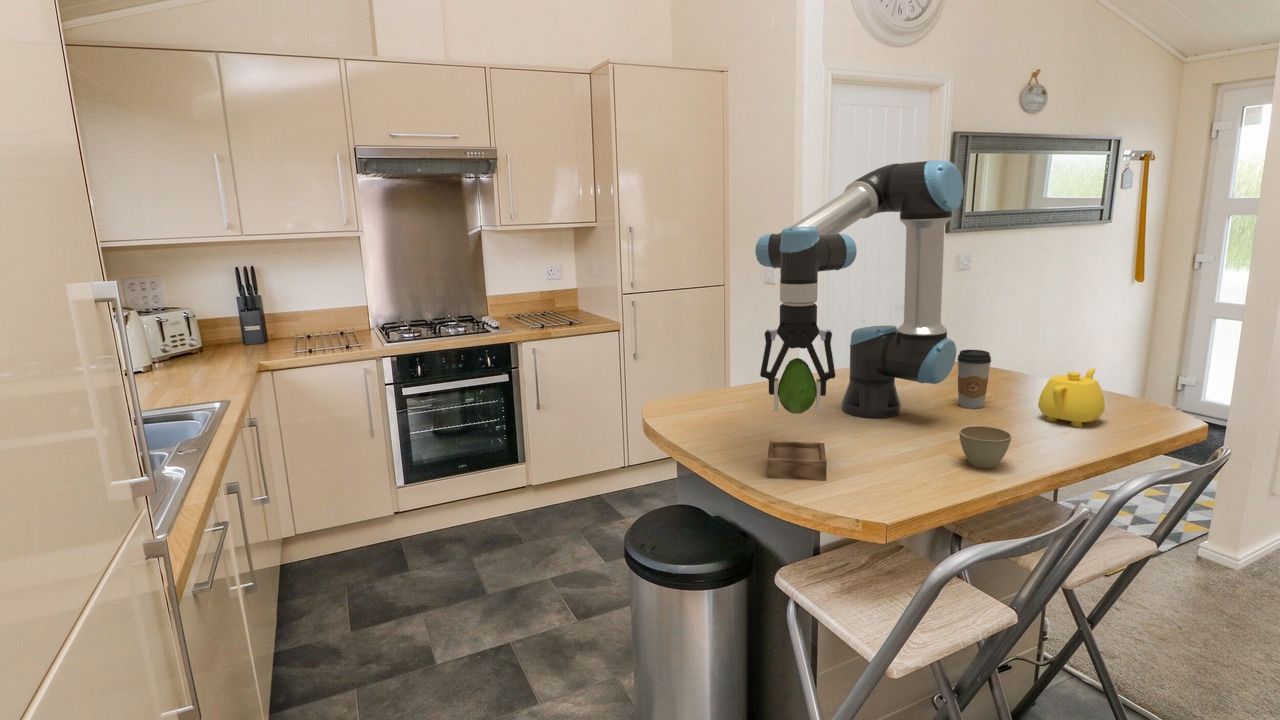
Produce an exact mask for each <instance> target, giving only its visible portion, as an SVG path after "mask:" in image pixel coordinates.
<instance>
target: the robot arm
mask: <svg viewBox="0 0 1280 720" xmlns="http://www.w3.org/2000/svg"><path fill="white" fill-rule="evenodd" d="M962 177H963V176H962V174H961V172H960V170H959V169H958V167H957V166H956V165H955V163H953V162H951V161H950V160H934V159H932V160H925V161H913V162H902V163H891V164H886V165H884V166H881V167H878V168H876V169H874V170H872V171H870V172H868V173H866V174H864V175H862V176H861V177H859V178H857V179H856V180H853V181H852V182H851V183H849V184H848V185H847V186H846V187H845V189H844V192H843V193H841V194H840V195H837V196H836V197H835V198H833V199H832V200H830V201H829V202H827V203H825V204H824V205H822V206H821V207H819V208H817V209H816V210H814V211H813V212H812V213H810V214H808V215H806V216H805V217H804V218H801V219H800V220H799V221H797V222H795V223H794V224H793V225H790V227H785V228H783V229H782V231H781V232H779V233H770V234H764V235H762V236H761V237H760V238H758V240H757V241H756V244H755V256H756V261H757V262H758V263H759V264H760V265H761V266H762V267H765V268H773V269H780V279H779V281H780V282H779V302H781V303H780V305H779V326H778V327H777V329H771V330H770V329H766V330H765V332H764V340H765V347H764V352H763V356H762V362H761V368H760V373H759V374H760V375H759V376H760V377H761V378H764V379H767V380H768V394H769V396H770V395H772V396H773V411H774V412H778V411H779V396H778V386H779V378H778V377H776V376H777V374H778V372H779V370H780V368H781V366H782V363H783V361H784V360H785V357H786V355H787V353H788V352H789V349H798V348H799V349H806V350H807V352H808V354H809V357H810V359H811V360H812V363H813V365H814V367H815V370H816V372H817V374H818V377H819V378H816V380H815V382H816V392H817V394H816V398H815V411H816V413H820V412H821V397H822V396H823V397H825V396H826V394H827V382H828V380H830V379H832V380H833V379H835V378H836V369H835V363H834V357H833V351H832V347H831V344H832V343H831V342H832V337H833V333H832V331H831V330H830V329H826V330H824V329H819V327H818V305H817V304H816V302H818V290H819V288H818V287H819V285H818V283H819V282H818V276H819V275H818V274H819V272H828V271H840V270H843V269H846V268H848V267H850V266H851V265H852V264H853V263H854V262H855V260H856V258H857V251H858V250H857V245H856V242H855V240H854V239H853V238H852V237H851V236H849V235H848V234H845V233H841V232H843V230H846V229H847V228H848V227H850V226H852V225H853V224H854V223H856V222H858V221H859V220H860V219H862V220H863V219H868V218H870V217H872V216H874V215H876V214H881V213H892V212H894V213H899V221H900V222H901V223H902V224H903V225H904V226H905V227H906V229H905V259H904V260H905V261H904V262H905V263H904V268H905V269H904V297H903V298H904V301H903V302H904V306H903V322H902V324H901V325H900V326H899V327H897V326H896V325H874V326H873V325H872V326H865V327H864V326H863V327H859V328H857V329H855V330H853V331H852V332H851V336H850V344H849V383H848V385H847V387H846V390H845V393H844V396H843V399H842V403H841V409H842V411H843V412H844V413H846V414H848V415H851V416H854V417H860V418H868V419H882V418H883V419H885V418H890V417H891V418H892V417H895V416H897V415H900V413H901V400H900V397H899V396H898V395H899V394H898V391H897V388H896V384H895V383H896V381H895V380H896V379H900V380H907V381H912V382H917V383H919V384H931V385H936V384H940V383H942V382H943V381H944V380H945V379H947V378H948V376H949V375H950V373H951V372H952V370H953V368H954V365H955V361H956V359H957V346H956V343H955V341H954V340H952V339H951V338H948V329H947V328H946V327H945V326H944V325H943V324H942V302H943V301H942V299H943V298H942V297H943V296H942V295H943V275H944V274H943V273H944V246H945V227H946V224H947V223H949V221H950V220H952V217H953V212H954V211H956V210H958V209H959V208H960V206H961V205H962V200H963V198H964V181H963V178H962ZM776 336H779V338H780V339H781V340H782V342H783V344H782V346H781V349H780V351H779V352H778V354H777V357H776V359H775V362H774V363H773V366H772V368H771V370H770V371H768V365H769V361H770V355H771V350H772V344H773V341H775V339H776ZM818 336H820V339H821V341H823V344H824V345H823V346H824V351H825V356H826V364H827V370H828V371H827V372H825V371H824V367H823V365H822V363H821V361H820V359H819V357H818V354H817V352H816V349H815V347H814V345H813V342H814V340H816V338H817V337H818Z"/></svg>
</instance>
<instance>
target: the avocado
mask: <svg viewBox="0 0 1280 720" xmlns="http://www.w3.org/2000/svg"><path fill="white" fill-rule="evenodd" d="M814 377H815V376H814V375H813V371H812V370H811V368H810V367H809V365H808V363H807V362H806V361H805V360H803V359H801V358H799V357H796V358H792V359H791V360H790V361H788V363H787V364H786V365H785V369H784V371H783V372H782V375H781V377H780V380H779V381H778V401H779V402H780V404H781V406H782V407H783V408H784V409H785V411H787V412H789V413H791V414H793V415H795V414H796V415H797V414H803V413H804V412H806V411H808V410H810V408H811V407H812V406H813V405H814V403H815V402H816V394H817V392H816V380H815V378H814Z"/></svg>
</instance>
